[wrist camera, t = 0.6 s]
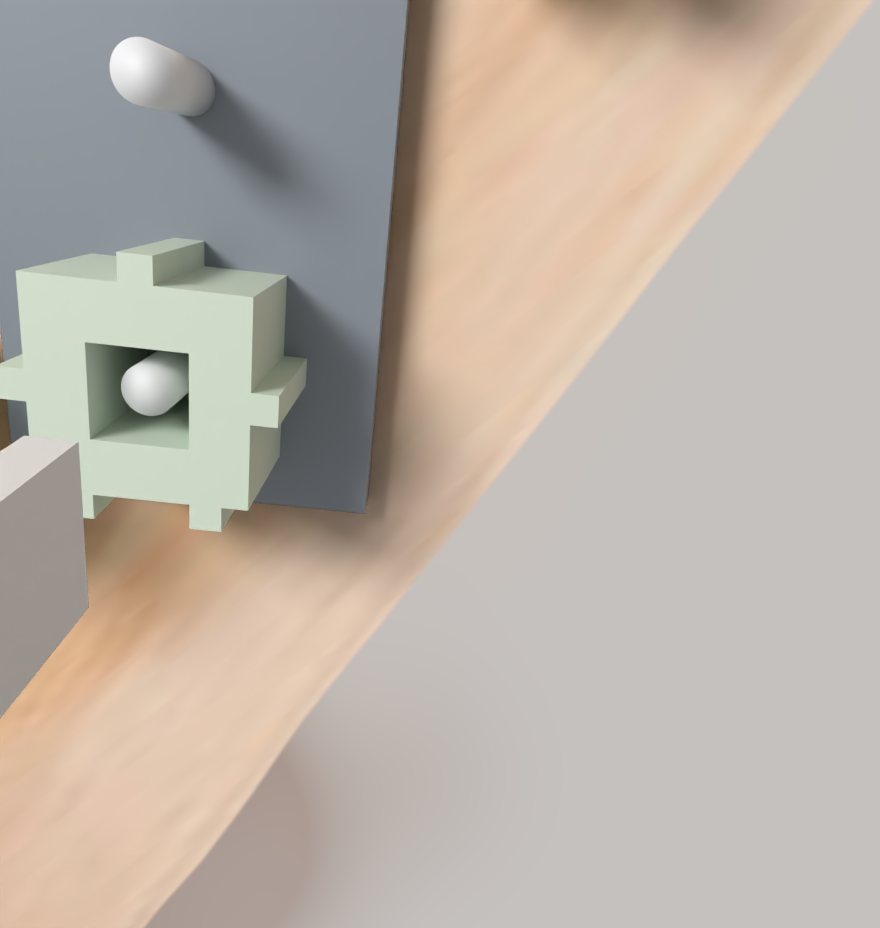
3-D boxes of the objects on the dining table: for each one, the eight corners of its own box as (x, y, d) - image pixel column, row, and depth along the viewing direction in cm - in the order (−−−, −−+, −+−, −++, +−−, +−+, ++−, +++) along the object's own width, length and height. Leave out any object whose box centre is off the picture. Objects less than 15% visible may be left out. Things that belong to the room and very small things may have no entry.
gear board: (-20, -147, 28) (-174, -252, 21) (417, -90, 29) (408, -175, 22) (30, 465, 37) (-68, 535, 30) (367, 500, 37) (349, 577, 30)
